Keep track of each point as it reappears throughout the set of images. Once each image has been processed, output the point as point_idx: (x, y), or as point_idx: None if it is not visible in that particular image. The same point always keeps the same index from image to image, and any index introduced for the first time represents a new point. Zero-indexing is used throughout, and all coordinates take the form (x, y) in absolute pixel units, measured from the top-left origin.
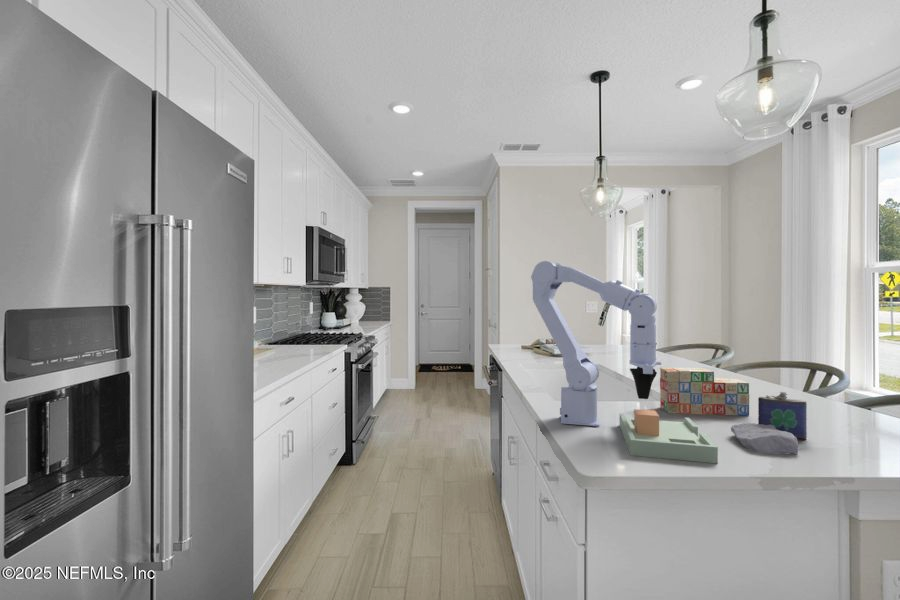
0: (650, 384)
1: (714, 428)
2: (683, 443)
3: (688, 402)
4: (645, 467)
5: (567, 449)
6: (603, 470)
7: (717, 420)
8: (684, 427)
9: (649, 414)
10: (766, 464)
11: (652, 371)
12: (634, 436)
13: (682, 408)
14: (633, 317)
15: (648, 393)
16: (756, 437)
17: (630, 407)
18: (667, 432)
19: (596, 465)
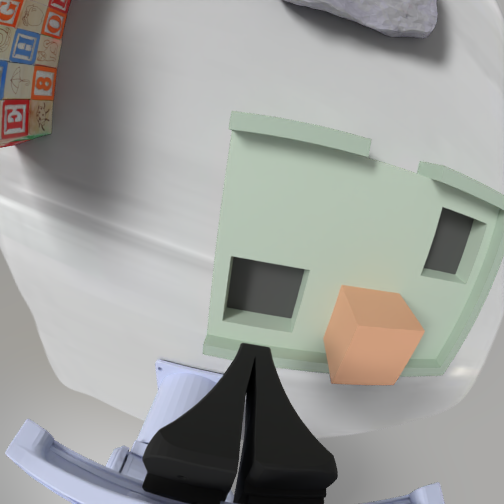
0: (291, 408)
1: (200, 25)
2: (491, 275)
3: (31, 70)
4: (475, 339)
5: (377, 427)
6: (459, 389)
7: (115, 6)
8: (309, 162)
9: (402, 355)
10: (490, 85)
11: (442, 494)
12: None
13: (42, 89)
14: None
15: (273, 368)
16: (433, 18)
17: (30, 231)
18: (370, 254)
19: (444, 397)
